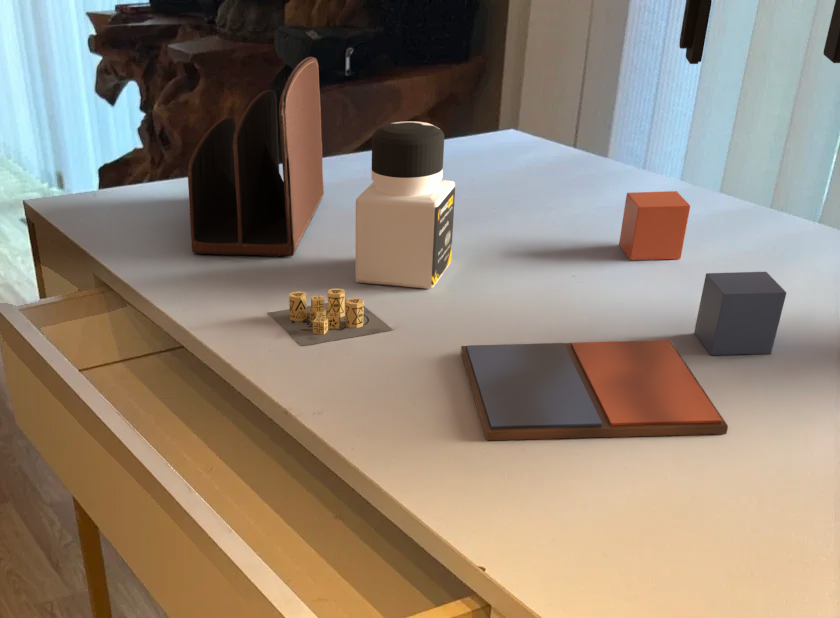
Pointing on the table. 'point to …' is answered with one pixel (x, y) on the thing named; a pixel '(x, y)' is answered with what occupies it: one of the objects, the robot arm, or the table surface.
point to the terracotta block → (654, 225)
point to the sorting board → (587, 391)
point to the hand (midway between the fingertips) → (762, 60)
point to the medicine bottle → (405, 209)
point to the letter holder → (260, 173)
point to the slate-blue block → (739, 313)
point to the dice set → (327, 318)
